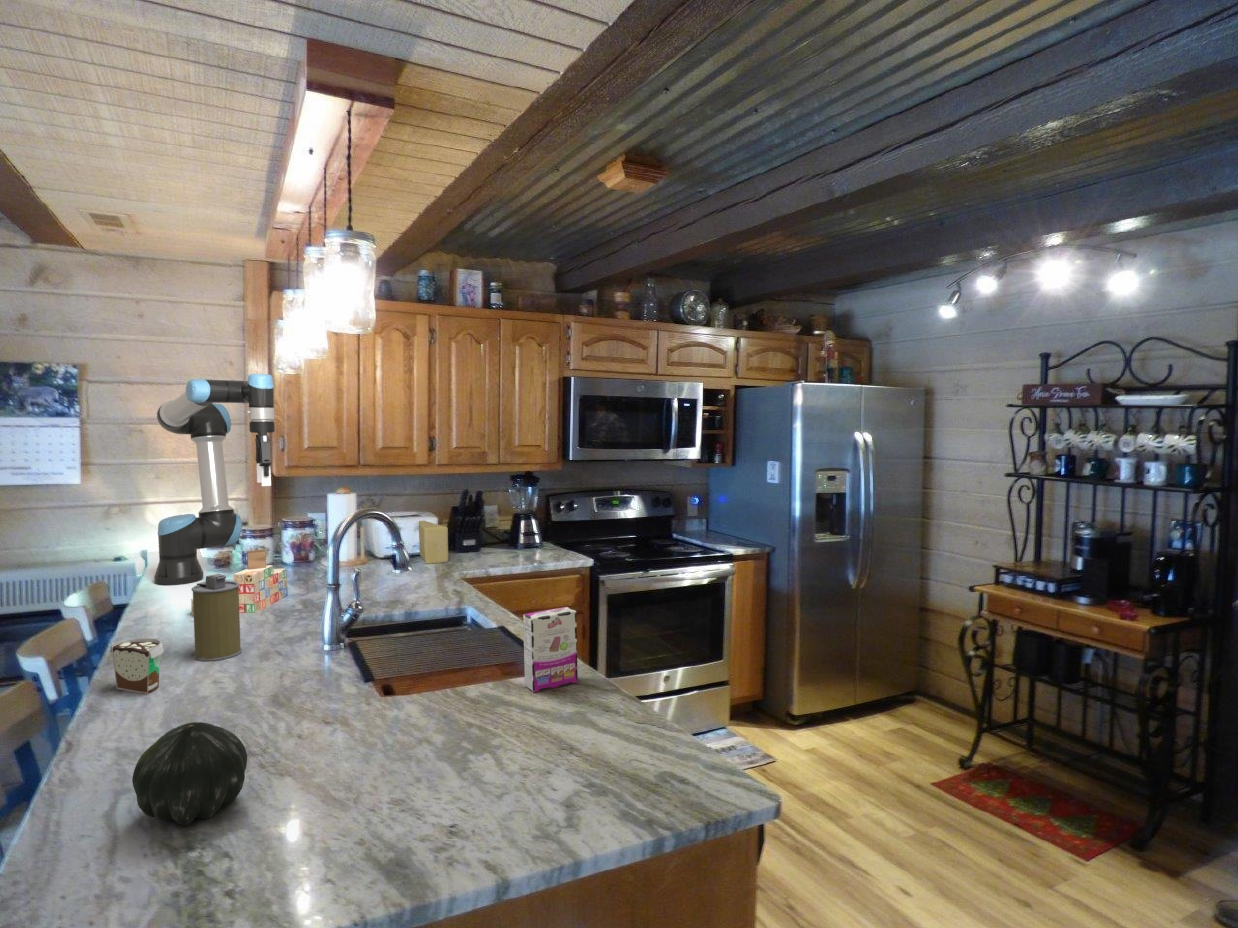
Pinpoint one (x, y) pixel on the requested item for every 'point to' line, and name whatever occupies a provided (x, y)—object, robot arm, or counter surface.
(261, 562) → the walnut cube
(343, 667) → the counter surface
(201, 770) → the squash
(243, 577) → the stack of blocks
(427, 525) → the cheese
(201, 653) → the canister
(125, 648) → the food container
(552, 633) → the candy bar box
